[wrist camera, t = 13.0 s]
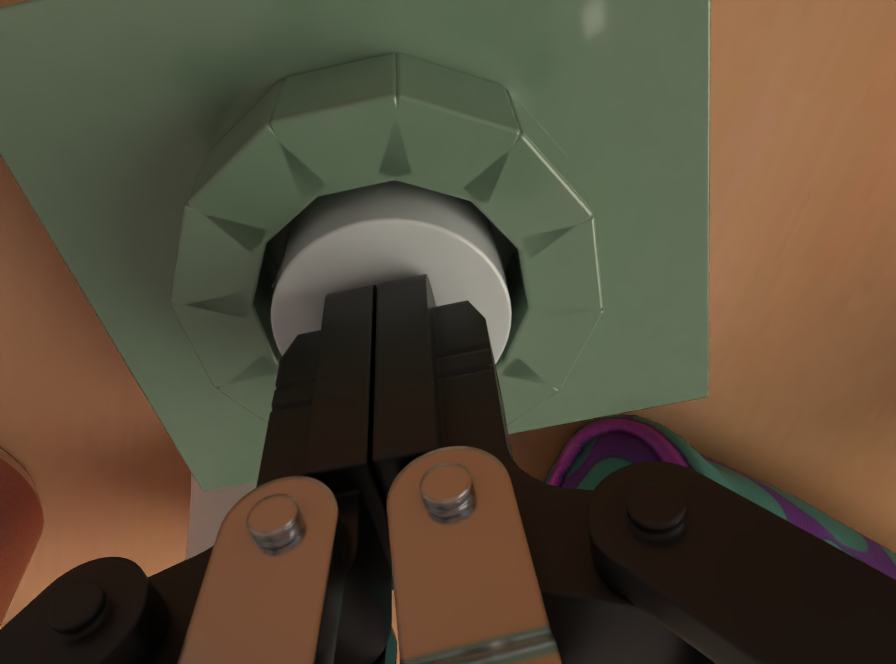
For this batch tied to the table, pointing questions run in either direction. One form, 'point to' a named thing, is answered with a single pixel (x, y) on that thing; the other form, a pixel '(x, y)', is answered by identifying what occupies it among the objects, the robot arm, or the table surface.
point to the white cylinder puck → (389, 255)
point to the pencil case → (646, 441)
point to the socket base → (370, 182)
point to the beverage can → (16, 526)
